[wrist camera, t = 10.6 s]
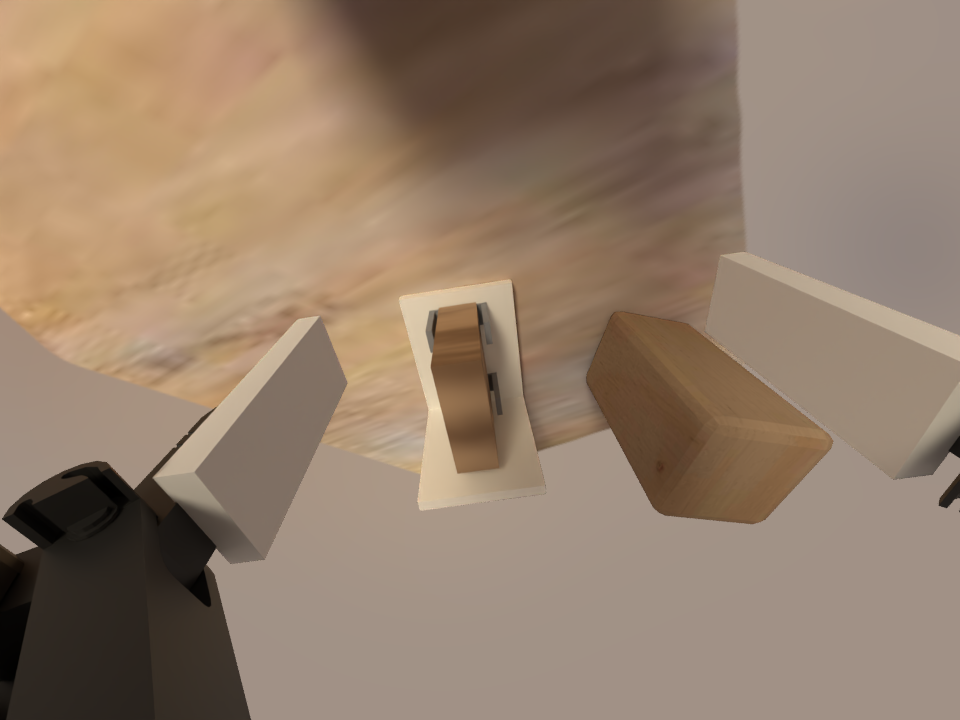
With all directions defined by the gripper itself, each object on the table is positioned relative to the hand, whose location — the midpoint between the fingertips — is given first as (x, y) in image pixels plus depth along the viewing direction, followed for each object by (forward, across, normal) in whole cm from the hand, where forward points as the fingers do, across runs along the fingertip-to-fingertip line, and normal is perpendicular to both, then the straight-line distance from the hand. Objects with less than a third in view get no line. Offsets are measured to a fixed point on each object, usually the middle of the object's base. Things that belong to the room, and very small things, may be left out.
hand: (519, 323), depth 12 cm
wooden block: (+26, +16, -19) cm, 36 cm away
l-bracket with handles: (+26, -4, -15) cm, 31 cm away
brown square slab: (+25, -4, -15) cm, 29 cm away
